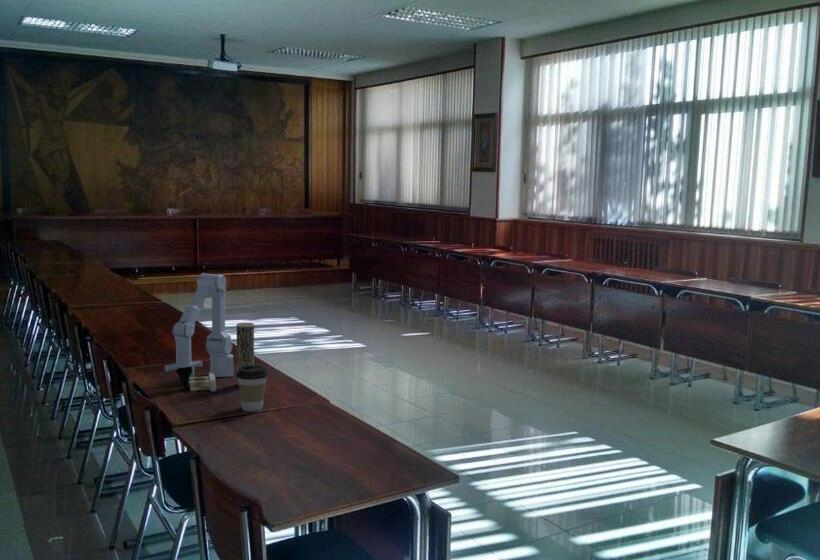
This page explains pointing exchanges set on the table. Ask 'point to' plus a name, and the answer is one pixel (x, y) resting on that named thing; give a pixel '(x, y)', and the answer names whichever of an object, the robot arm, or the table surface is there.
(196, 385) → the beige hollow square block
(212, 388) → the wall
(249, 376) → the coffee cup
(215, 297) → the robot arm
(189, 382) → the dowel
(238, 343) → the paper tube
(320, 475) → the table surface
